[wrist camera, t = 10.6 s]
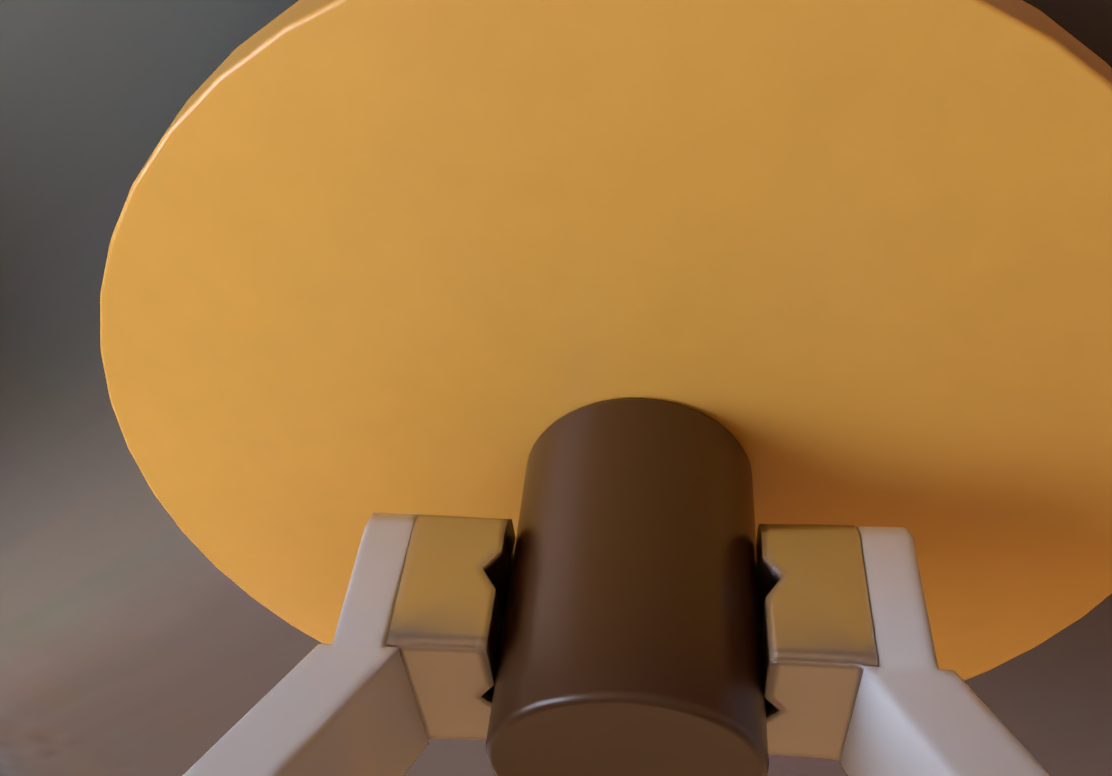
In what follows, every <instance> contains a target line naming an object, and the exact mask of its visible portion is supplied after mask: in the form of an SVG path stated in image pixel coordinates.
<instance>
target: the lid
mask: <svg viewBox="0 0 1112 776" xmlns="http://www.w3.org/2000/svg"><path fill="white" fill-rule="evenodd" d="M100 338H101V355H102V360H103V365H104V370H105V376H106V381H107V386H108V391H109V396H110V401H111V404H112V406H113V409H114V412H115V414H116V417H117V420H118V422H119V425H120V428H121V431H122V433H123V436H124V439H125V441H126V444H127V447H128V449H129V450H130V452H131V454H132V456H133V458H134V459H135V461H136V463H137V465H138V467H139V468H140V470H141V472H142V474H143V476H144V477H145V479H146V481H147V483H148V485H149V486H150V488H151V490H152V492H153V493H154V494H155V496H156V497H157V498H158V500H159V501H160V502H161V504H162V505H163V506H164V508H165V509H166V510H167V512H168V513H169V514H170V516H171V517H172V518H173V520H174V521H175V522H176V524H177V525H178V526H179V528H180V529H181V530H182V531H183V533H184V534H185V535H186V536H187V537H188V538H189V539H190V540H191V541H192V542H193V543H194V544H195V545H196V546H197V547H198V548H199V549H200V550H201V551H202V553H203V554H204V555H205V556H206V557H207V558H208V559H209V560H210V561H211V562H212V563H213V564H214V565H215V566H216V567H217V568H218V569H219V570H221V571H222V572H223V573H224V574H225V575H226V576H228V577H229V578H230V579H231V580H232V581H233V582H235V583H236V584H237V585H238V586H239V587H241V588H242V589H243V590H244V591H245V592H246V593H248V594H249V595H250V596H251V597H252V598H254V599H255V600H256V601H258V602H259V603H261V604H262V605H264V606H265V607H266V608H268V609H269V610H271V611H272V612H274V613H275V614H276V615H278V616H279V617H281V618H282V619H284V620H285V621H286V622H288V623H289V624H291V625H292V626H294V627H295V628H297V629H299V630H301V631H302V632H304V633H306V634H308V635H309V636H311V637H313V638H314V639H316V640H318V641H320V642H321V643H323V644H332V642H333V639H334V635H335V632H336V628H337V625H338V621H339V617H340V614H341V610H342V607H343V603H344V600H345V596H346V592H347V589H348V585H349V582H350V578H351V575H352V571H353V568H354V564H355V560H356V557H357V553H358V550H359V546H360V543H361V539H362V536H363V532H364V528H365V526H366V524H367V522H368V521H369V519H370V518H371V516H372V514H373V513H396V514H422V515H441V516H460V517H480V518H499V519H512V522H513V527H514V532H515V537H516V540H515V547H514V554H513V562H512V569H511V576H510V583H509V589H508V596H507V603H506V610H505V617H504V623H503V631H502V637H501V644H500V651H499V658H498V664H497V671H496V678H495V685H494V692H493V698H492V705H491V712H490V719H489V726H488V733H487V739H486V753H487V756H488V760H489V763H490V766H491V768H492V770H493V772H494V774H495V775H496V776H767V773H768V767H769V757H768V740H767V723H766V705H765V697H764V687H763V671H762V656H761V640H760V634H761V619H760V601H759V598H758V587H757V566H756V536H757V529H758V526H759V524H822V525H854V526H855V527H857V526H869V527H906V528H907V529H908V530H909V532H910V533H911V535H912V536H913V540H914V546H915V551H916V556H917V561H918V566H919V571H920V576H921V581H922V586H923V591H924V596H925V602H926V607H927V612H928V617H929V622H930V627H931V632H932V637H933V642H934V647H935V653H936V658H937V663H938V668H939V669H943V670H954V671H955V672H956V673H957V674H958V675H959V676H960V677H961V678H962V680H963V681H964V680H967V679H969V678H972V677H974V676H977V675H979V674H982V673H984V672H987V671H989V670H991V669H993V668H995V667H997V666H999V665H1001V664H1003V663H1005V662H1007V661H1009V660H1011V659H1012V658H1014V657H1016V656H1018V655H1020V654H1022V653H1024V652H1026V651H1028V650H1030V649H1032V648H1034V647H1036V646H1038V645H1039V644H1041V643H1042V642H1044V641H1046V640H1047V639H1049V638H1050V637H1052V636H1053V635H1055V634H1057V633H1058V632H1060V631H1061V630H1063V629H1064V628H1066V627H1068V626H1069V625H1071V624H1072V623H1074V622H1076V621H1077V620H1079V619H1080V618H1082V617H1083V616H1084V615H1086V614H1087V613H1088V612H1089V611H1091V610H1092V609H1093V608H1094V607H1096V606H1097V605H1098V604H1099V603H1101V602H1102V601H1103V600H1104V599H1106V598H1107V597H1108V596H1109V595H1111V594H1112V68H1111V67H1110V66H1109V65H1108V64H1107V63H1106V62H1105V61H1104V60H1102V59H1101V58H1100V57H1099V56H1097V55H1096V54H1095V53H1094V52H1092V51H1091V50H1090V49H1089V48H1087V47H1086V46H1085V45H1083V44H1082V43H1081V42H1080V41H1078V40H1077V39H1076V38H1075V37H1073V36H1072V35H1071V34H1070V33H1068V32H1067V31H1066V30H1064V29H1063V28H1062V27H1061V26H1059V25H1058V24H1057V23H1056V22H1054V21H1053V20H1052V19H1051V18H1049V17H1048V16H1047V15H1045V14H1044V13H1043V12H1042V11H1040V10H1039V9H1037V8H1035V7H1034V6H1032V5H1030V4H1028V3H1026V2H1024V1H1023V0H299V1H298V2H296V3H295V4H294V5H292V6H291V7H290V8H288V9H287V10H286V11H284V12H283V13H282V14H280V15H279V16H278V17H276V18H275V19H274V20H273V21H271V22H270V23H269V24H267V25H266V26H265V27H263V28H262V29H261V30H259V31H258V32H257V33H255V34H254V35H253V36H251V37H250V38H249V39H248V40H246V41H245V42H244V43H242V44H241V45H240V46H238V47H237V48H236V49H235V50H234V51H233V52H232V53H231V54H230V55H229V56H228V57H227V58H226V59H225V61H224V62H223V63H222V64H221V65H220V66H219V67H218V68H217V69H216V70H215V71H214V72H213V73H212V74H211V76H210V77H209V78H208V79H207V80H206V81H205V82H204V83H203V84H202V85H201V86H200V87H199V88H198V89H197V91H196V92H195V93H194V94H193V95H192V96H191V97H190V98H189V99H188V100H187V101H186V103H185V104H184V106H183V107H182V109H181V110H180V112H179V113H178V115H177V116H176V118H175V119H174V120H173V122H172V123H171V125H170V126H169V128H168V129H167V131H166V132H165V134H164V136H163V137H162V139H161V140H160V142H159V143H158V145H157V146H156V148H155V150H154V151H153V153H152V154H151V156H150V157H149V159H148V160H147V162H146V164H145V165H144V167H143V168H142V170H141V171H140V173H139V174H138V176H137V178H136V179H135V181H134V182H133V184H132V186H131V189H130V191H129V194H128V196H127V199H126V202H125V204H124V207H123V209H122V212H121V214H120V217H119V219H118V222H117V224H116V227H115V229H114V232H113V234H112V237H111V239H110V244H109V249H108V255H107V260H106V266H105V271H104V277H103V282H102V287H101V293H100Z"/></svg>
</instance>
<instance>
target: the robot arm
mask: <svg viewBox="0 0 1112 776" xmlns="http://www.w3.org/2000/svg"><path fill="white" fill-rule="evenodd" d="M515 540H516V537H515V532H514V527H513V522H512V519H499V518H480V517H460V516H441V515H422V514H396V513H373V514H372V516H371V518H370V519H369V521H368V522H367V524H366V526H365V528H364V532H363V536H362V539H361V543H360V546H359V550H358V553H357V557H356V560H355V564H354V568H353V571H352V575H351V578H350V582H349V585H348V589H347V592H346V596H345V600H344V603H343V607H342V610H341V614H340V617H339V621H338V625H337V628H336V632H335V635H334V639H333V642H332V644H318V645H317V646H316V647H315V648H314V649H313V650H312V651H311V652H310V653H309V654H308V655H307V656H306V657H305V658H304V659H303V660H302V661H301V662H299V663H298V664H297V665H296V666H295V667H294V668H293V669H292V670H291V671H290V672H289V673H288V674H287V675H286V676H285V677H284V678H283V679H282V680H281V681H280V682H279V683H278V684H277V685H276V686H275V687H274V688H273V689H272V690H270V691H269V692H268V693H267V694H266V695H265V696H264V697H263V698H262V699H261V700H260V701H259V702H258V703H257V704H256V705H255V706H254V707H253V708H252V709H251V710H250V711H249V712H248V713H247V714H246V715H245V716H244V717H243V718H241V719H240V720H239V721H238V722H237V723H236V724H235V725H234V726H233V727H232V728H231V729H230V730H229V731H228V732H227V733H226V734H225V735H224V736H223V737H222V738H221V739H220V740H219V741H218V742H217V743H216V744H215V745H214V746H213V747H211V748H210V749H209V750H208V751H207V752H206V753H205V754H204V755H203V756H202V757H201V758H200V759H199V760H198V761H197V762H196V763H195V764H194V765H193V766H192V767H191V768H190V769H189V770H188V771H187V772H186V773H185V774H184V775H182V776H404V775H405V774H406V772H407V771H408V770H409V768H410V767H411V766H412V764H413V763H414V762H415V761H416V759H417V758H418V757H419V755H420V754H421V753H422V751H423V750H424V749H425V748H426V746H427V745H428V744H429V743H428V739H427V738H438V739H479V740H486V739H487V733H488V726H489V719H490V712H491V705H492V698H493V692H494V685H495V678H496V671H497V664H498V658H499V651H500V644H501V637H502V631H503V623H504V617H505V610H506V603H507V596H508V589H509V583H510V576H511V569H512V562H513V554H514V547H515ZM756 566H757V587H758V598H759V601H760V619H761V634H760V640H761V656H762V671H763V687H764V697H765V705H766V723H767V740H768V754H776V755H789V756H802V757H815V758H828V759H841V760H840V765H841V766H842V768H843V769H844V771H845V772H846V774H847V775H848V776H1050V775H1049V774H1048V773H1047V772H1046V771H1045V770H1044V768H1043V767H1042V766H1041V765H1040V764H1039V763H1038V762H1037V761H1036V760H1035V759H1034V757H1033V756H1032V755H1031V754H1030V753H1029V752H1028V751H1027V750H1026V749H1025V748H1024V746H1023V745H1022V744H1021V743H1020V742H1019V741H1018V740H1017V739H1016V738H1015V737H1014V736H1013V734H1012V733H1011V732H1010V731H1009V730H1008V729H1007V728H1006V727H1005V726H1004V725H1003V723H1002V722H1001V721H1000V720H999V719H998V718H997V717H996V716H995V715H994V714H993V712H992V711H991V710H990V709H989V708H988V707H987V706H986V705H985V704H984V703H983V702H982V700H981V699H980V698H979V697H978V696H977V695H976V694H975V693H974V692H973V691H972V689H971V688H970V687H969V686H968V685H967V684H966V683H965V682H964V681H963V680H962V678H961V677H960V676H959V675H958V674H957V673H956V672H955V671H954V670H943V669H939V668H938V663H937V658H936V653H935V647H934V642H933V637H932V632H931V627H930V622H929V617H928V612H927V607H926V602H925V596H924V591H923V586H922V581H921V576H920V571H919V566H918V561H917V556H916V551H915V546H914V540H913V536H912V535H911V533H910V532H909V530H908V529H907V528H906V527H869V526H857V527H855V526H854V525H822V524H759V526H758V529H757V536H756Z"/></svg>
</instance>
